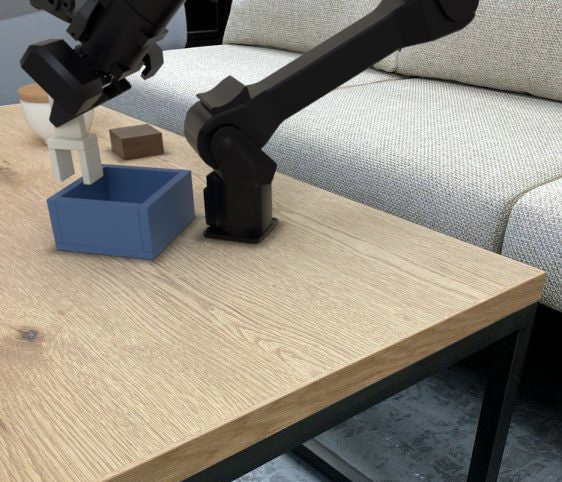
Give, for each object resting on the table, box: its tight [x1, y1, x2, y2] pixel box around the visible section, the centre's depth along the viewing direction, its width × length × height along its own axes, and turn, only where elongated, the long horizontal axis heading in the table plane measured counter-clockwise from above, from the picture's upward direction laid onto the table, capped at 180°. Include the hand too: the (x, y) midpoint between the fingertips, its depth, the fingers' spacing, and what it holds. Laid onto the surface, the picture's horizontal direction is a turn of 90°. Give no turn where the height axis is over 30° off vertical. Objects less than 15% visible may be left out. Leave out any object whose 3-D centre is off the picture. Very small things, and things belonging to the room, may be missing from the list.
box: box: [46, 163, 196, 261], centre depth 75 cm, size 11×12×6 cm
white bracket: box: [46, 95, 103, 185], centre depth 72 cm, size 4×3×10 cm
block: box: [108, 123, 165, 161], centre depth 102 cm, size 6×6×3 cm
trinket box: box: [17, 82, 95, 145], centre depth 106 cm, size 11×11×9 cm
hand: (57, 121), depth 72 cm, fingers closed on white bracket
